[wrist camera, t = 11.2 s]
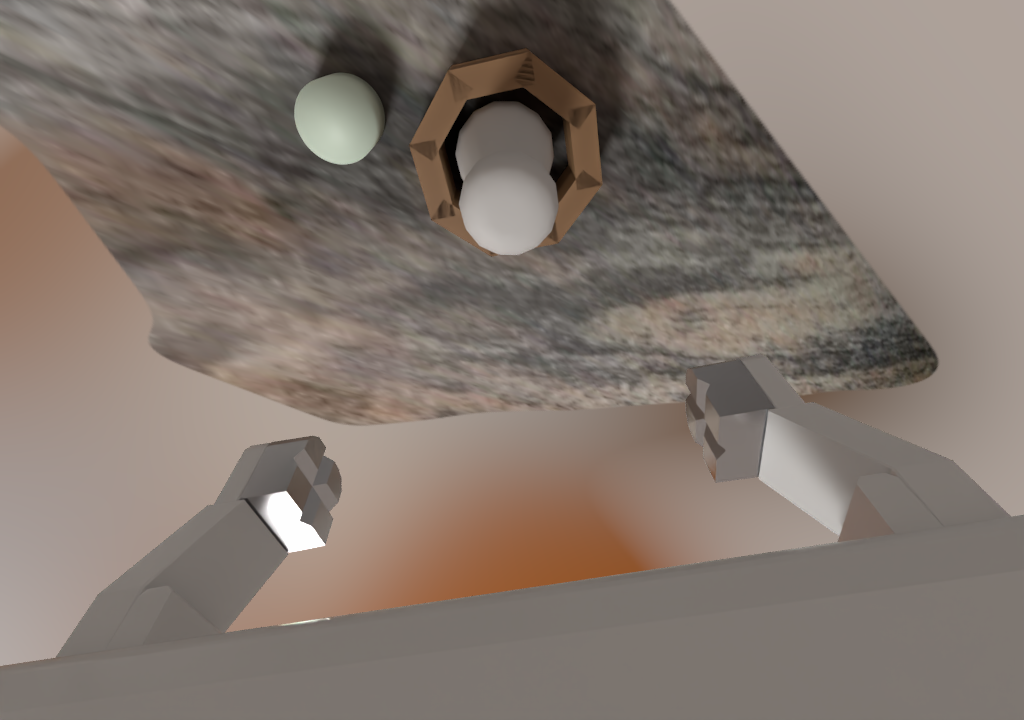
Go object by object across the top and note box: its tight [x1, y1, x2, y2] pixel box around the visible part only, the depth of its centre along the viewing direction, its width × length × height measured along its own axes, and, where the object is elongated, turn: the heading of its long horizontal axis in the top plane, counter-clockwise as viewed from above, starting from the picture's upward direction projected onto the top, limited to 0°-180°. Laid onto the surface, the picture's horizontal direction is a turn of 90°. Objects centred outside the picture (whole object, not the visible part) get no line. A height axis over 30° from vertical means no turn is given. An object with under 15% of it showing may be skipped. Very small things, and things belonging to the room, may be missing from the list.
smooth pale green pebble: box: [294, 72, 385, 164], centre depth 28 cm, size 4×4×3 cm
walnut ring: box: [409, 48, 602, 257], centre depth 30 cm, size 10×10×4 cm
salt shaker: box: [455, 101, 559, 255], centre depth 26 cm, size 6×6×13 cm
